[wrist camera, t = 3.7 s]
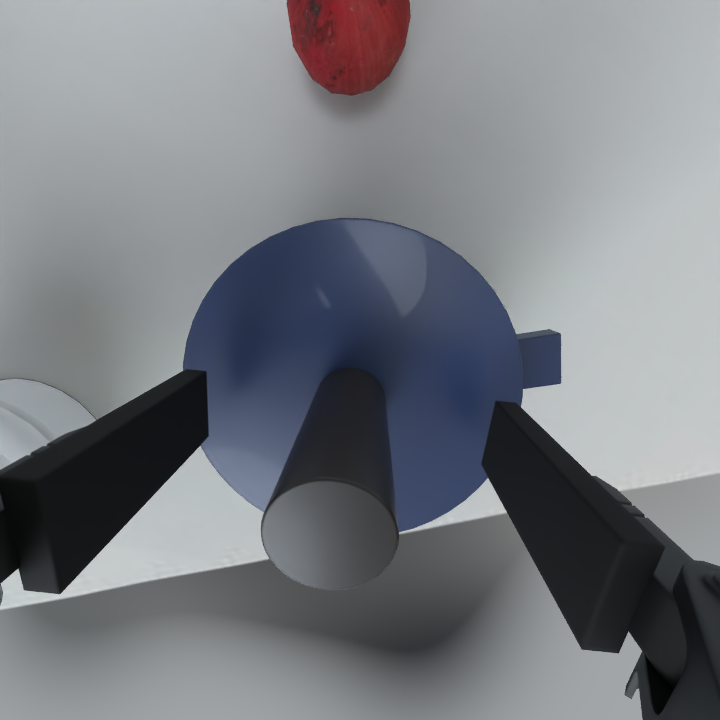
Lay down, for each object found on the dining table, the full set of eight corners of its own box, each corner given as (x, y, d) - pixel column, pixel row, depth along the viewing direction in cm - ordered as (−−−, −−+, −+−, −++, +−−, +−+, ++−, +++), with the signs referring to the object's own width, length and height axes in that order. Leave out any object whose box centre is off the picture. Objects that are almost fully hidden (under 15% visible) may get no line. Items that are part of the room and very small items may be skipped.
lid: (152, 255, 14) (-165, 244, 6) (504, 190, 13) (744, 58, 5) (242, 534, 18) (131, 767, 10) (518, 503, 17) (661, 736, 9)
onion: (339, 140, 21) (321, 68, 13) (284, 47, 20) (229, -91, 12) (420, 77, 20) (450, -40, 12) (367, -25, 19) (364, -226, 11)
